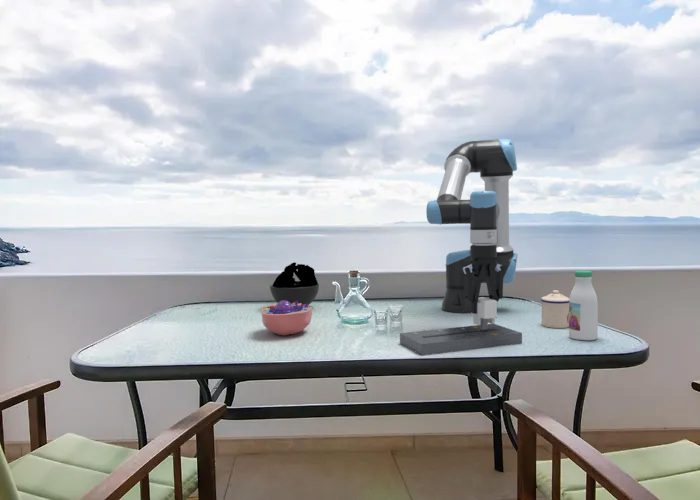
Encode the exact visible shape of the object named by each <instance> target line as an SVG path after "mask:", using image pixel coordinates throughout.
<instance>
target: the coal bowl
mask: <svg viewBox="0 0 700 500" xmlns="http://www.w3.org/2000/svg"><path fill="white" fill-rule="evenodd" d="M315 273H316V271H315V269H314V268H313V267H311V266H309V265H308V264H303V263H302V264H301V263H297V262H295V261H294V262H292V263H290V264H288V265H287V266H285V267H284V269H283V271H281V273H279V274H278V275H277V277H276V278H275V279H274V281H273V283H272V284H271V285H270V286H269V289H270V293H271V295H272V297H273V299H274V300H275V302H276V304H277V303H279V302H280V301H288V302H290V303H291V304H292V303H295V301H298V303H299V304H300V303H301V304H308V305H309V306H310V304H311V303H312V302H313V301H314V300H315V299H316V298H317V295H318V292H319V289H320V283H319V282H318V279H317V277H316V274H315ZM294 276H296V277H297V279H298V281H297V280H296V278H295V277H294Z"/></svg>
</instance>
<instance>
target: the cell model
mask: <svg viewBox="0 0 700 500" xmlns="http://www.w3.org/2000/svg"><path fill="white" fill-rule="evenodd" d="M260 310H261V312H260V314H261V322H262V325H263V326H264V327H265V328H266V330H268V331H269V332H271V333H275V334H277V335H279V336H290V335H289V334H292V335H295V334H299V333H300V332H302V331H304V330H305V329H306V328H307V327H308V326H309V325H310V324H311V322H312V314H313V308H312V306H311V305H310V304H309V305H308V304H301V303H300V304H299V303H298V301H295V303H292V304H291V303H290V302H288V301H280V302H279V303H277V302H276V304H271V305H268V306H263V307H261V309H260Z"/></svg>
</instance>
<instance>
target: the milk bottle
mask: <svg viewBox="0 0 700 500" xmlns="http://www.w3.org/2000/svg"><path fill="white" fill-rule="evenodd" d="M574 279H575V283H574V286H573V288H572V290H571V292H570V294H569V298H570V299H569V327H568V336H569V338H571V339H573V340H578V341H594V340H595V341H596V340H597V339H598V335H599V334H598V331H599V330H598V327H599V324H598V323H599V322H598V319H599V310H598V309H599V305H598V295H597V293H596V290H595V289H594V286H593V282H592V279H593V271H592V270H586V269H585V270H581V269H580V270H575V271H574Z"/></svg>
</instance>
